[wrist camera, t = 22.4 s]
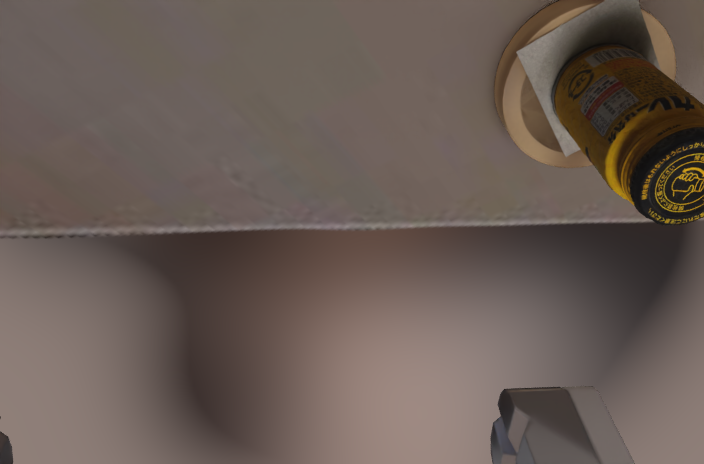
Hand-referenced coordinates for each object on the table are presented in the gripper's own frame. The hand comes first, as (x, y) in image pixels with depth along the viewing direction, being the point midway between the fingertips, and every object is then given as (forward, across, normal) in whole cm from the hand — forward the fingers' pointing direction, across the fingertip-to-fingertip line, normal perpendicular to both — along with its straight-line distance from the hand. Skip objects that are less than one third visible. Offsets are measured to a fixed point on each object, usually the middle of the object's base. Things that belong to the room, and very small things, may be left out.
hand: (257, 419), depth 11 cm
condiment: (+31, -19, +6) cm, 37 cm away
